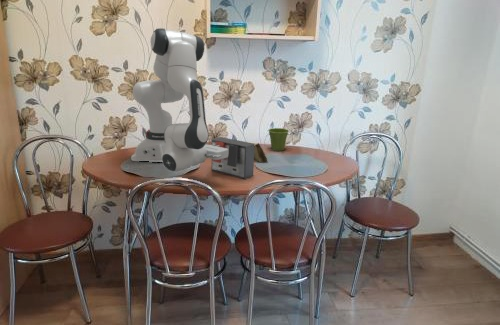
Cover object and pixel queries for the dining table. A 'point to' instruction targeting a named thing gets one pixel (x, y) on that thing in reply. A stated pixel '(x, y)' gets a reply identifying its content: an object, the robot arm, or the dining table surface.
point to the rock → (259, 154)
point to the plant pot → (278, 138)
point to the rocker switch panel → (243, 159)
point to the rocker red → (220, 146)
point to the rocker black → (232, 155)
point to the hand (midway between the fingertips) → (217, 146)
